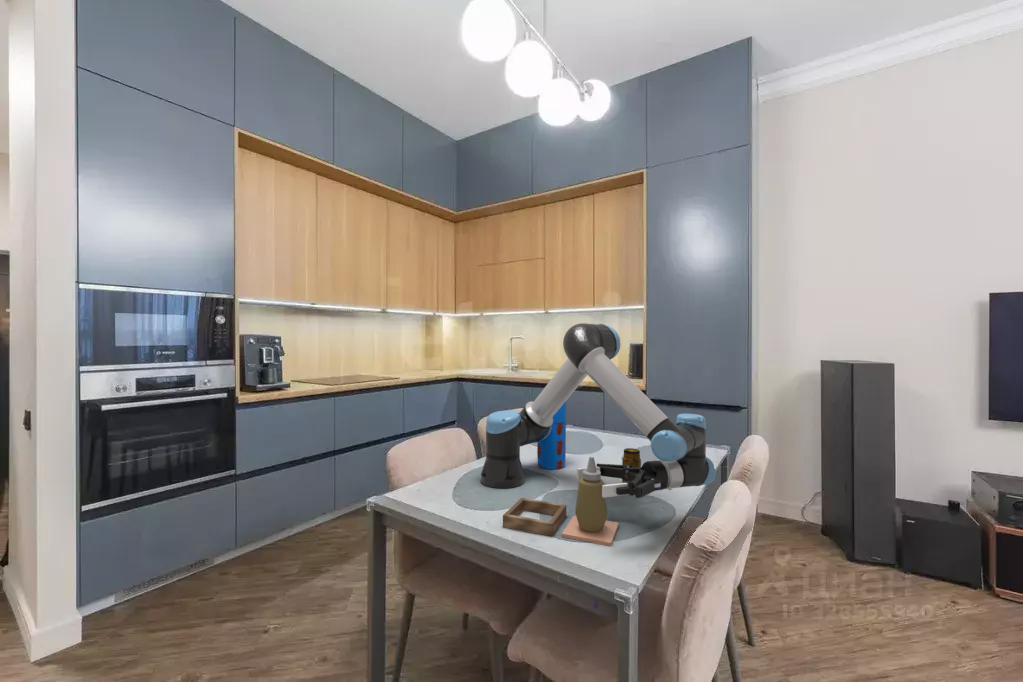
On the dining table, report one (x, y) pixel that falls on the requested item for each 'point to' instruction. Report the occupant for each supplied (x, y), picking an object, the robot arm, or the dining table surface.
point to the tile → (599, 537)
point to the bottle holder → (535, 525)
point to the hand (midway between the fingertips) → (589, 482)
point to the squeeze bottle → (591, 500)
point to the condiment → (631, 459)
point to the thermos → (554, 443)
